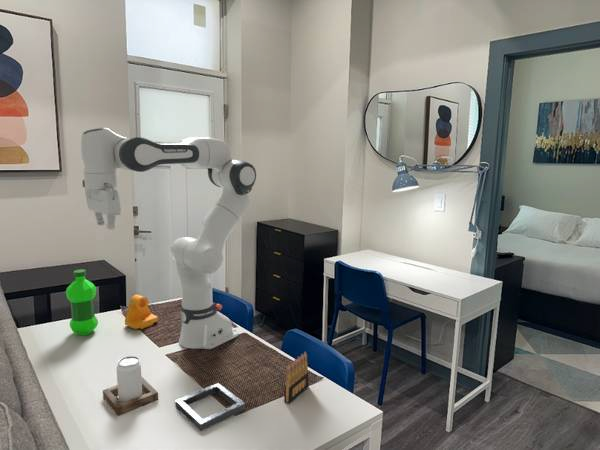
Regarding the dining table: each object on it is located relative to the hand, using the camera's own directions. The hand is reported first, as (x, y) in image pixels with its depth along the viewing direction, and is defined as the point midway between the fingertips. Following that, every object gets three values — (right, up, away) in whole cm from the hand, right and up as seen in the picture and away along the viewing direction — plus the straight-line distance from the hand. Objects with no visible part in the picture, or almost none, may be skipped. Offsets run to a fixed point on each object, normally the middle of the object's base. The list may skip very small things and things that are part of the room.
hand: (105, 227), depth 133 cm
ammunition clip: (+59, -50, -4) cm, 78 cm away
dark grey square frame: (+35, -51, -12) cm, 63 cm away
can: (+11, -50, -8) cm, 52 cm away
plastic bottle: (-24, -42, +35) cm, 59 cm away
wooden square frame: (+11, -50, -8) cm, 52 cm away
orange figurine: (-5, -41, +43) cm, 59 cm away
